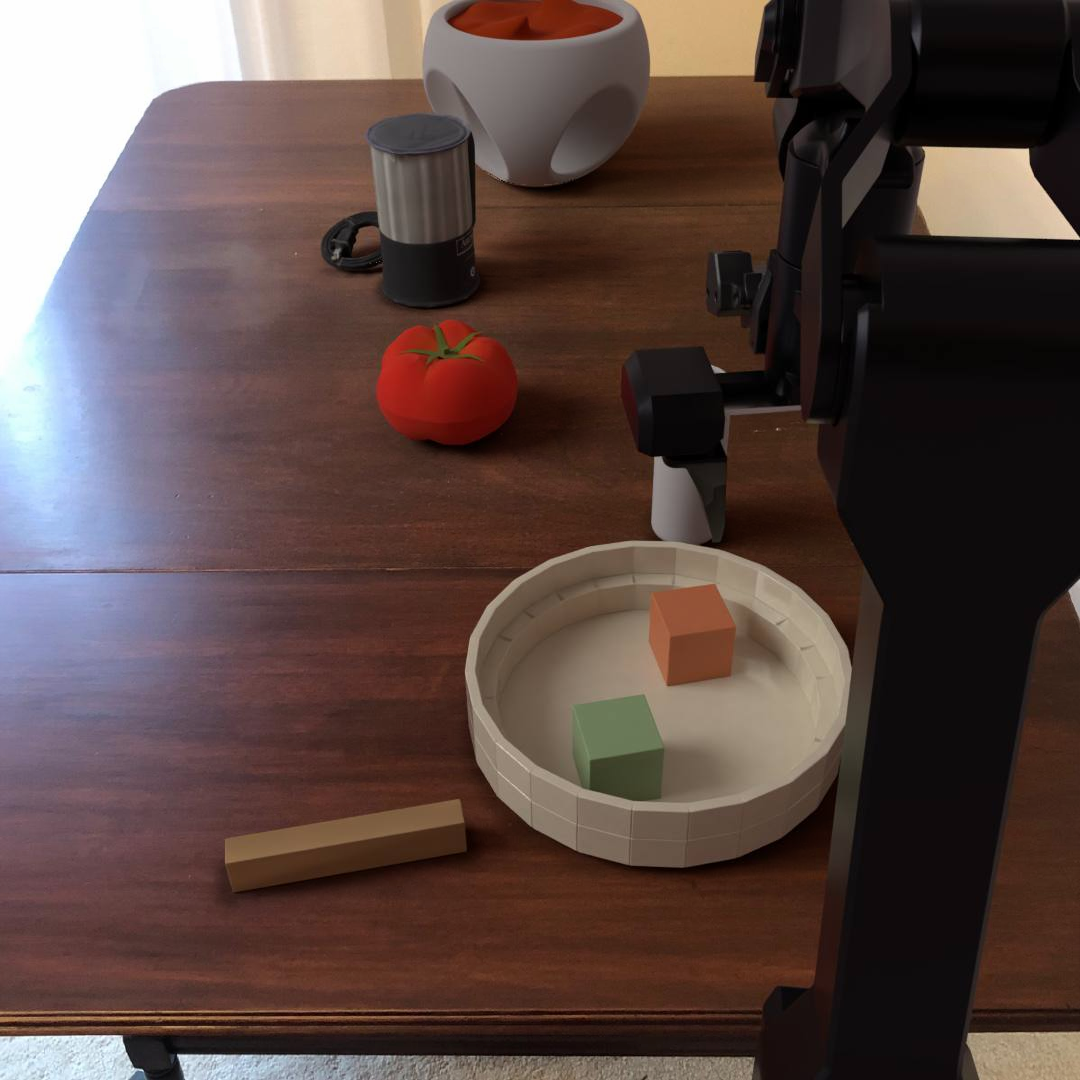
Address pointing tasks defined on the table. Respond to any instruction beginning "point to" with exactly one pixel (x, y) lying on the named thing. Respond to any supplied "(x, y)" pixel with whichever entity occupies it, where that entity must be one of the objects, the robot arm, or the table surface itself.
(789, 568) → the table surface
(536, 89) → the pot
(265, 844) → the long tan beam
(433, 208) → the milk frother
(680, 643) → the terracotta block
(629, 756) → the sage block
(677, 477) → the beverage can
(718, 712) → the bowl
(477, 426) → the tomato
